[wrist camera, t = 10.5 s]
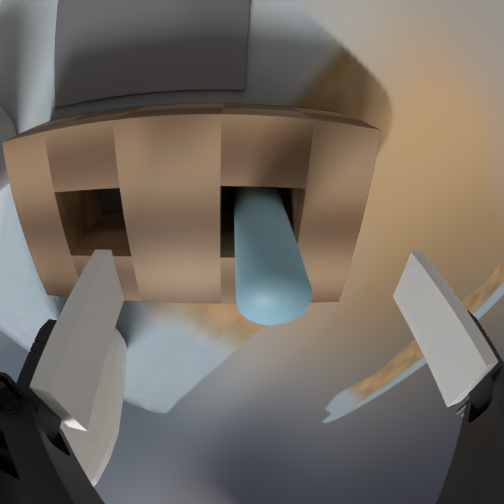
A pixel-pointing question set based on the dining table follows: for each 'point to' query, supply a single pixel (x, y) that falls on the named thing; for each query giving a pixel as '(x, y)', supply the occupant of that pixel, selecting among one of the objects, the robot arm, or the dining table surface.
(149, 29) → the mat
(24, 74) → the dining table surface
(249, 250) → the peg
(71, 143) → the block
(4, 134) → the cup
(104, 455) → the bottle
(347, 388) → the dining table surface
